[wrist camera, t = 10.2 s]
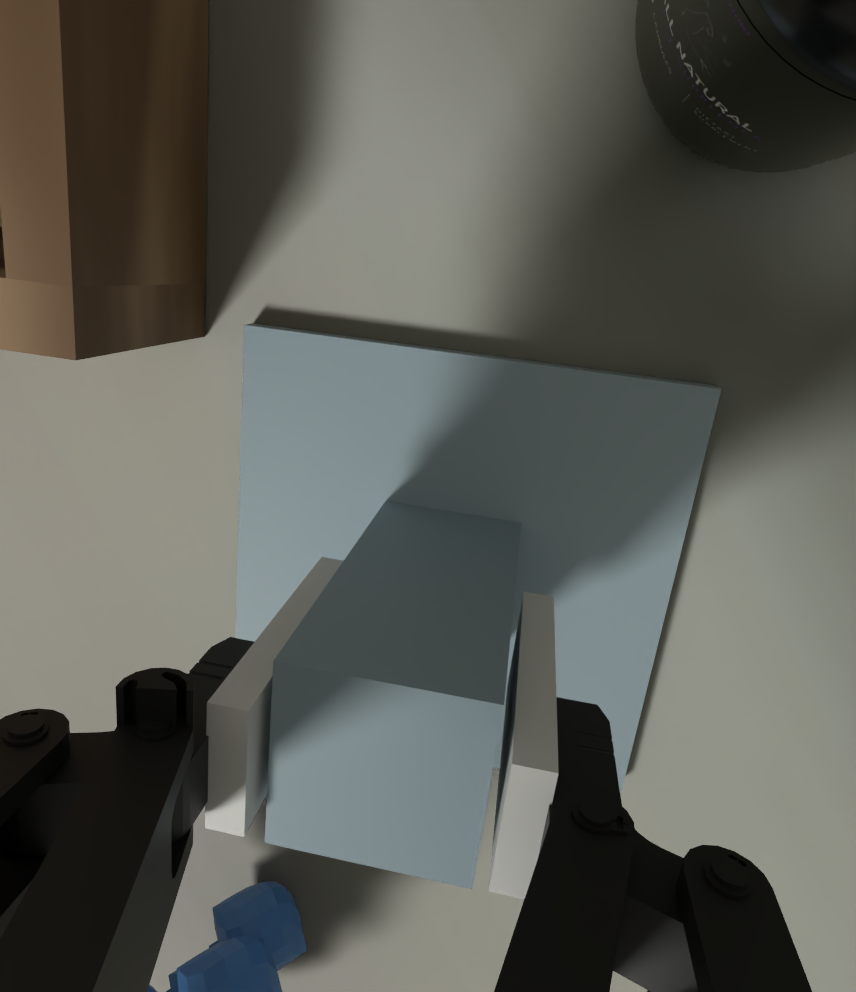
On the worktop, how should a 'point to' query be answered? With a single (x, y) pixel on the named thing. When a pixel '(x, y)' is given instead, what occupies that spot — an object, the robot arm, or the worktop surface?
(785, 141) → the supplement bottle
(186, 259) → the box
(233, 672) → the robot arm
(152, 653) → the worktop surface
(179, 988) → the grapes
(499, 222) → the worktop surface
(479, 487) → the lid
